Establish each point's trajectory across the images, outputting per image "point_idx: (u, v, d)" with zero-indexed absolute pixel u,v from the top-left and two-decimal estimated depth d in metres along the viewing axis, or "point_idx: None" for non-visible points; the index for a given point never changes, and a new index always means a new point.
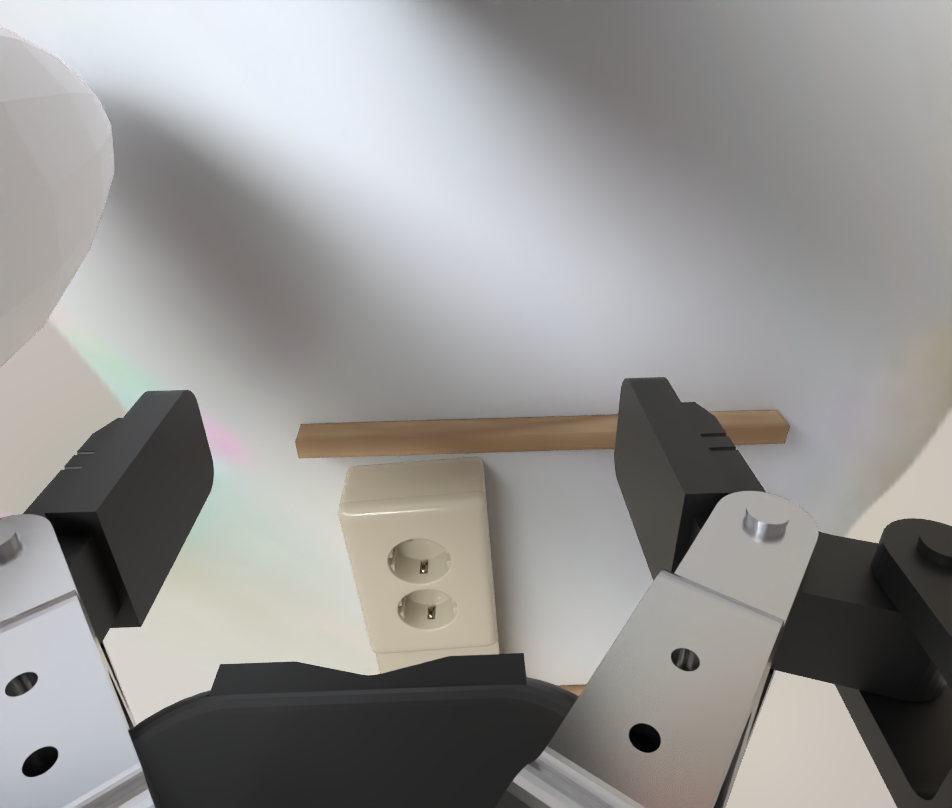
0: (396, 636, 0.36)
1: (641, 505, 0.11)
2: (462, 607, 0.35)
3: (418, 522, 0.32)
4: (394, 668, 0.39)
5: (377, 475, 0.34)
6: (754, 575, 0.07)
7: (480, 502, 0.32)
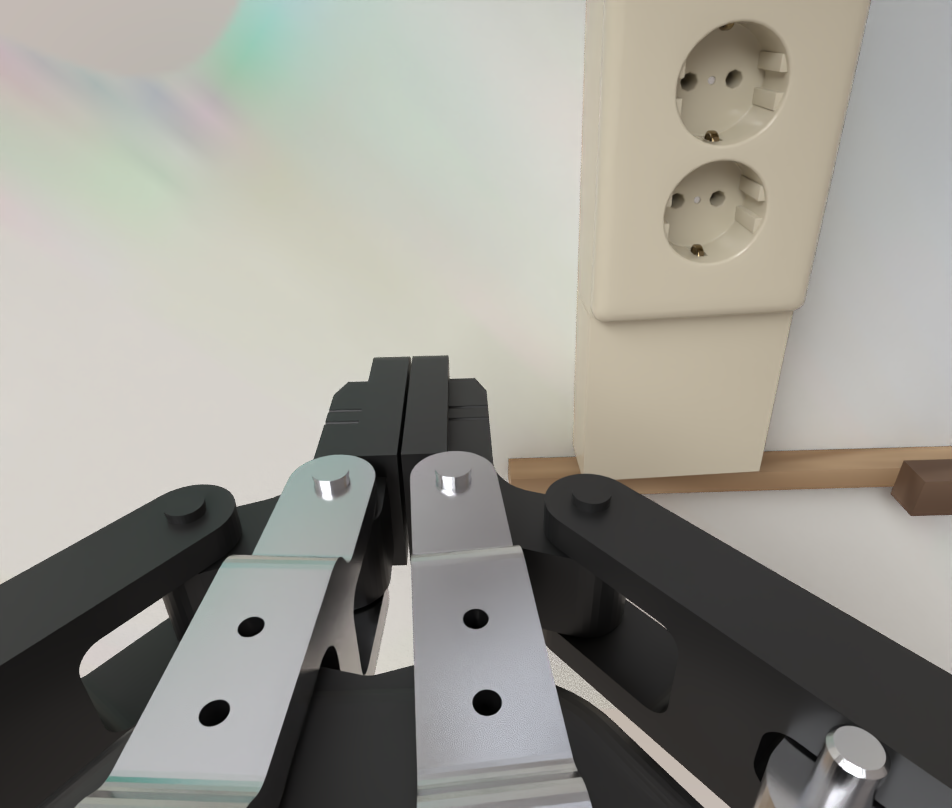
0: (649, 276, 0.21)
1: None
2: (776, 209, 0.20)
3: None
4: (612, 373, 0.24)
5: None
6: (472, 523, 0.08)
7: None
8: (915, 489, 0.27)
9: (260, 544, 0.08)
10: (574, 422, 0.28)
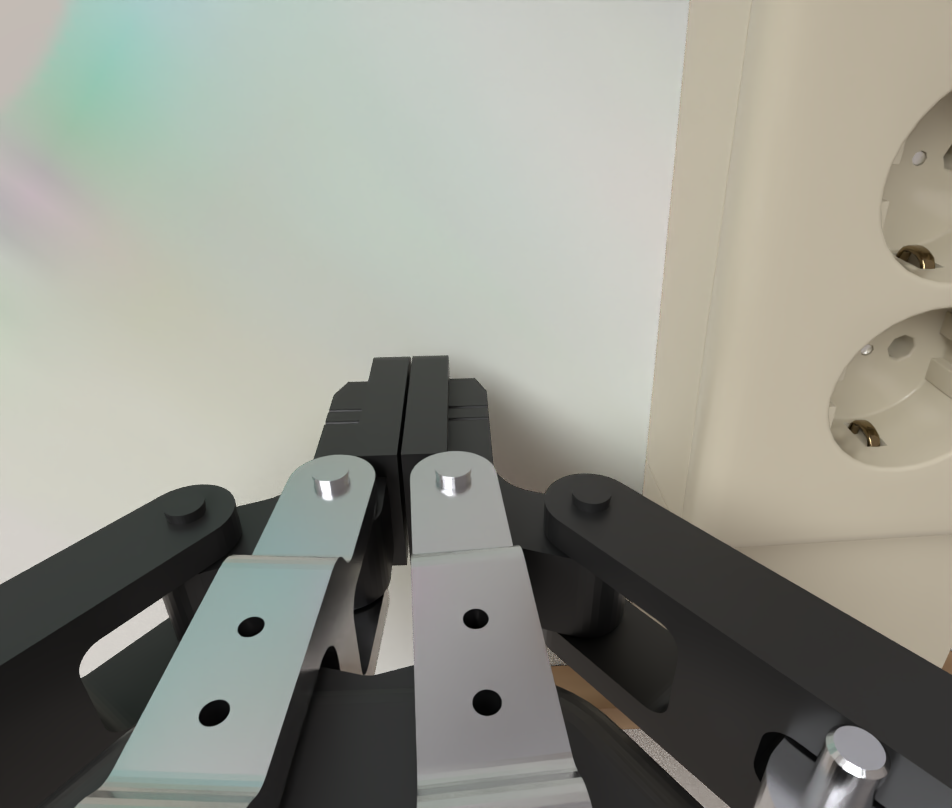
0: (793, 488, 0.12)
1: None
2: None
3: None
4: None
5: None
6: (472, 524, 0.08)
7: None
8: None
9: (260, 543, 0.08)
10: None
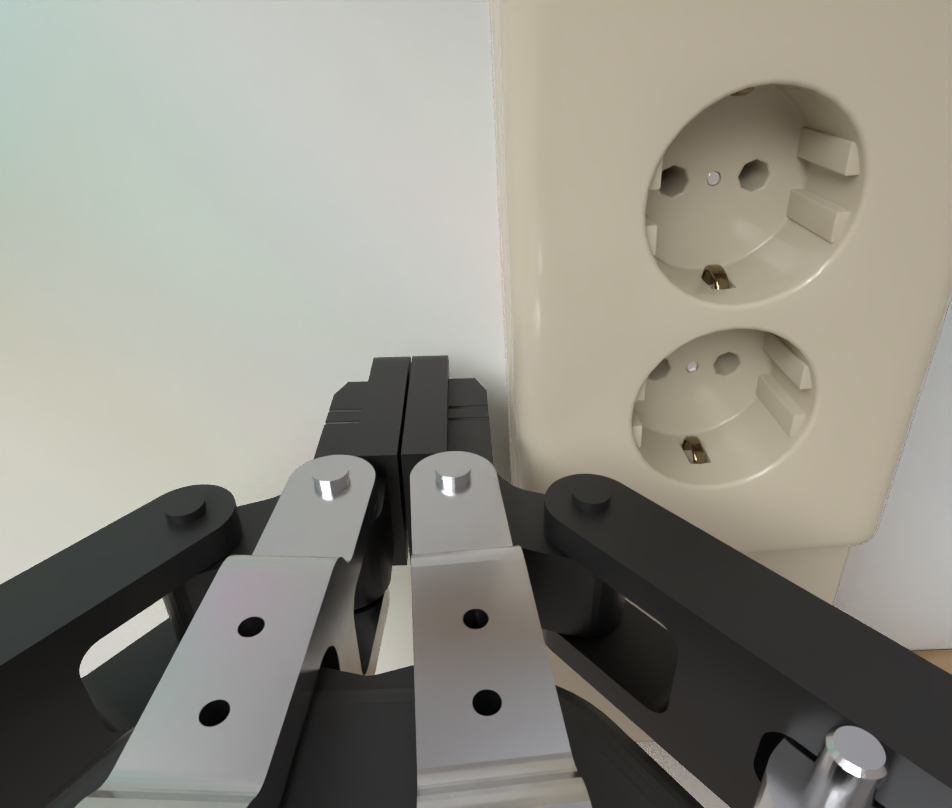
0: None
1: None
2: (832, 405, 0.11)
3: None
4: None
5: None
6: (472, 523, 0.08)
7: None
8: None
9: (260, 543, 0.08)
10: None
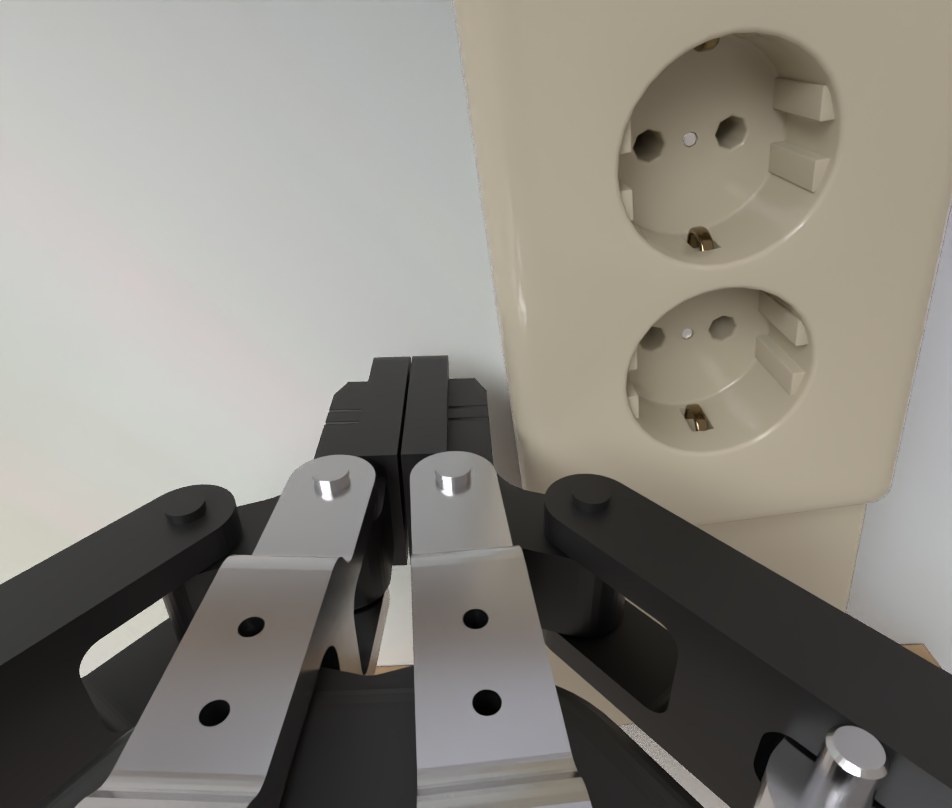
0: None
1: None
2: (831, 359, 0.11)
3: None
4: None
5: None
6: (472, 523, 0.08)
7: None
8: None
9: (260, 543, 0.08)
10: None
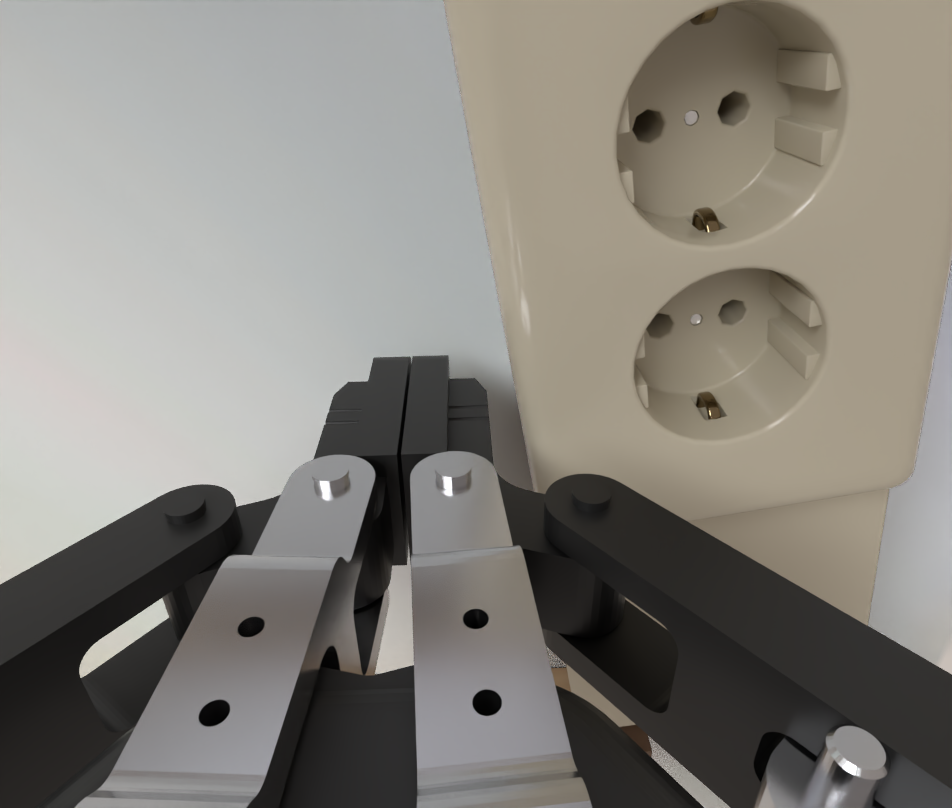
0: (624, 472, 0.12)
1: None
2: (846, 339, 0.11)
3: None
4: None
5: None
6: (472, 523, 0.08)
7: None
8: None
9: (260, 544, 0.08)
10: None
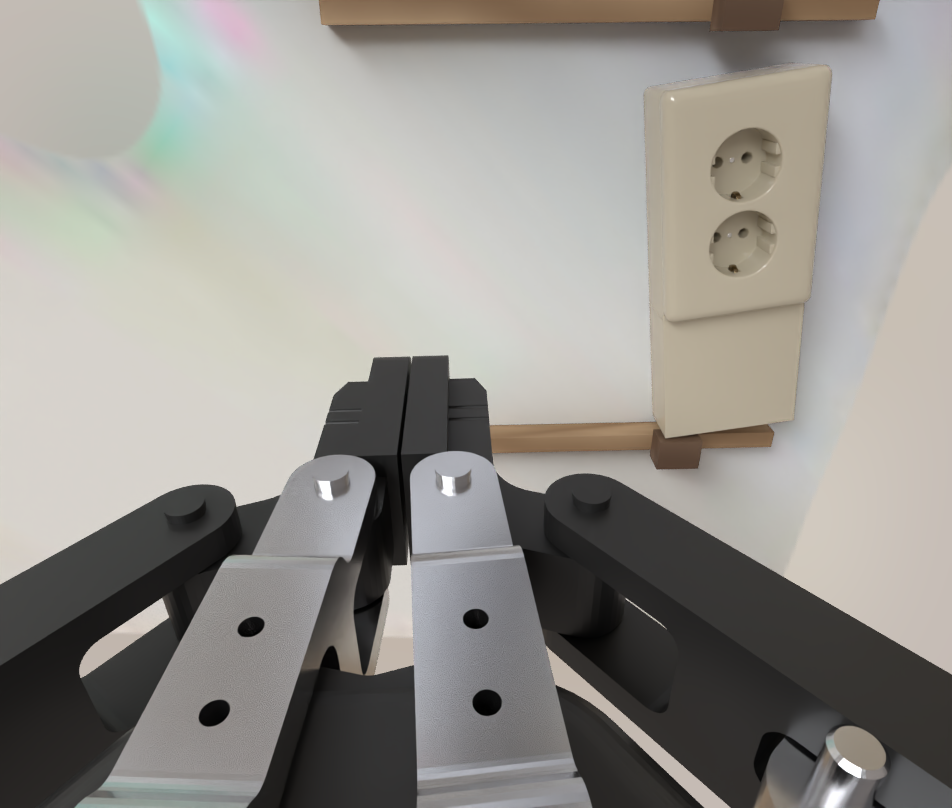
0: (702, 289, 0.32)
1: None
2: (783, 238, 0.31)
3: (755, 100, 0.28)
4: (681, 357, 0.35)
5: (686, 82, 0.30)
6: (472, 523, 0.08)
7: (828, 67, 0.28)
8: (657, 449, 0.38)
9: (260, 544, 0.08)
10: (653, 398, 0.39)
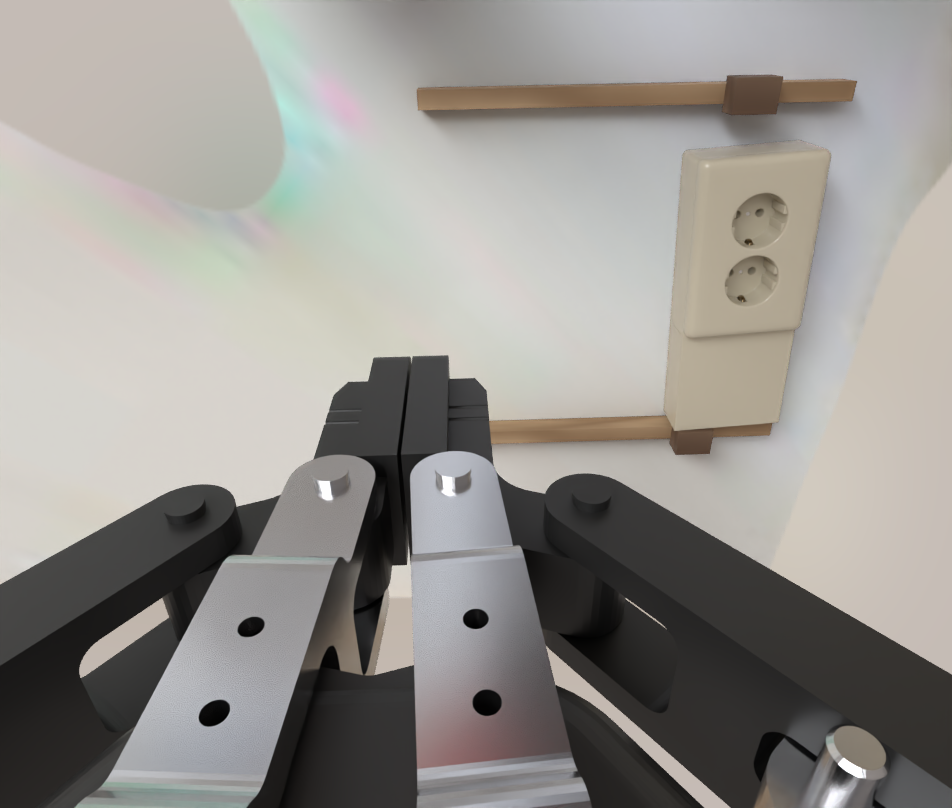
0: (716, 314, 0.40)
1: None
2: (783, 278, 0.39)
3: (771, 172, 0.36)
4: (694, 366, 0.43)
5: (717, 150, 0.38)
6: (472, 523, 0.08)
7: (828, 152, 0.36)
8: (676, 438, 0.46)
9: (260, 544, 0.08)
10: (665, 397, 0.47)
